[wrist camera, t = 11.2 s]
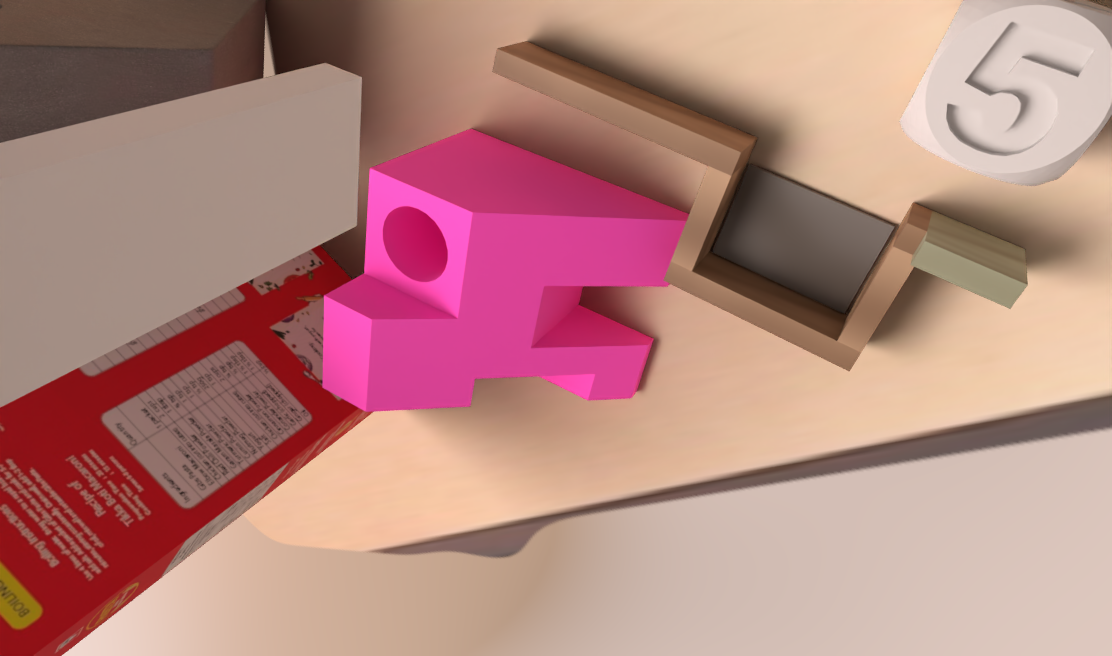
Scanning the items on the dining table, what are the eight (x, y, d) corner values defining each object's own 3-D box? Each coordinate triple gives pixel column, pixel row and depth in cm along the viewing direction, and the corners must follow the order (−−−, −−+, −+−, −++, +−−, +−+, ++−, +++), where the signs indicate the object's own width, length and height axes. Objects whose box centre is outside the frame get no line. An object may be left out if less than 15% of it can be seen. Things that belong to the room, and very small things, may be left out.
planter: (-16, 27, 44) (-307, 191, 28) (-43, -119, 40) (-407, -24, 23) (282, 92, 48) (178, 270, 32) (288, -35, 43) (171, 97, 27)
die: (1140, 17, 23) (1168, 35, 20) (1043, 161, 26) (1051, 203, 22) (980, -34, 25) (977, -26, 21) (905, 109, 28) (889, 140, 24)
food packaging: (236, 236, 49) (-266, 442, 30) (260, 182, 46) (-286, 376, 26) (389, 399, 49) (-15, 715, 29) (425, 357, 46) (-4, 683, 26)
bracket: (449, 300, 43) (322, 387, 35) (472, 128, 37) (326, 185, 29) (637, 390, 39) (544, 510, 31) (694, 214, 33) (598, 307, 25)
